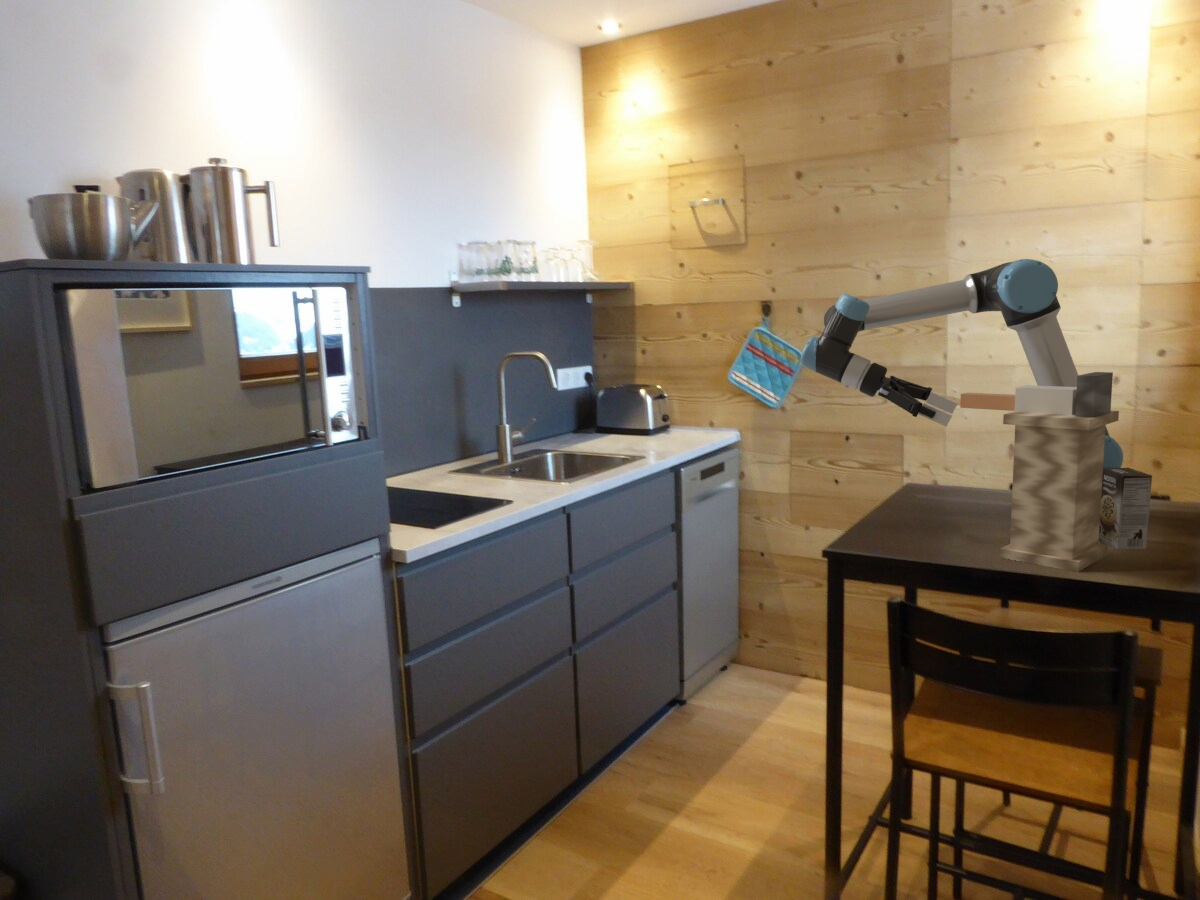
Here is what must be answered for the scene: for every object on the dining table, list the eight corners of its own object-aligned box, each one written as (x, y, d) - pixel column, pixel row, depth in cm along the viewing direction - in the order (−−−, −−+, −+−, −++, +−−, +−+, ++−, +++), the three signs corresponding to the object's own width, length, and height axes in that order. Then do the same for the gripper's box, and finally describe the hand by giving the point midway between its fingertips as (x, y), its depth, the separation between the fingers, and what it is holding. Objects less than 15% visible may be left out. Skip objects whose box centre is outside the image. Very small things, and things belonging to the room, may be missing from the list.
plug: (957, 408, 189) (958, 385, 188) (969, 405, 193) (970, 383, 192) (1076, 415, 172) (1077, 390, 171) (1086, 412, 176) (1088, 387, 175)
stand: (997, 557, 181) (1005, 374, 176) (1029, 541, 193) (1038, 369, 187) (1080, 572, 170) (1091, 377, 164) (1110, 554, 181) (1121, 371, 175)
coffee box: (1094, 538, 193) (1098, 467, 191) (1123, 538, 193) (1128, 466, 191) (1117, 550, 184) (1121, 475, 182) (1148, 549, 184) (1153, 474, 182)
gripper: (867, 381, 218) (949, 417, 211) (847, 400, 196) (938, 441, 189) (880, 353, 215) (964, 390, 208) (862, 370, 193) (955, 411, 186)
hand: (952, 414), depth 199 cm, fingers open, 13 cm apart
